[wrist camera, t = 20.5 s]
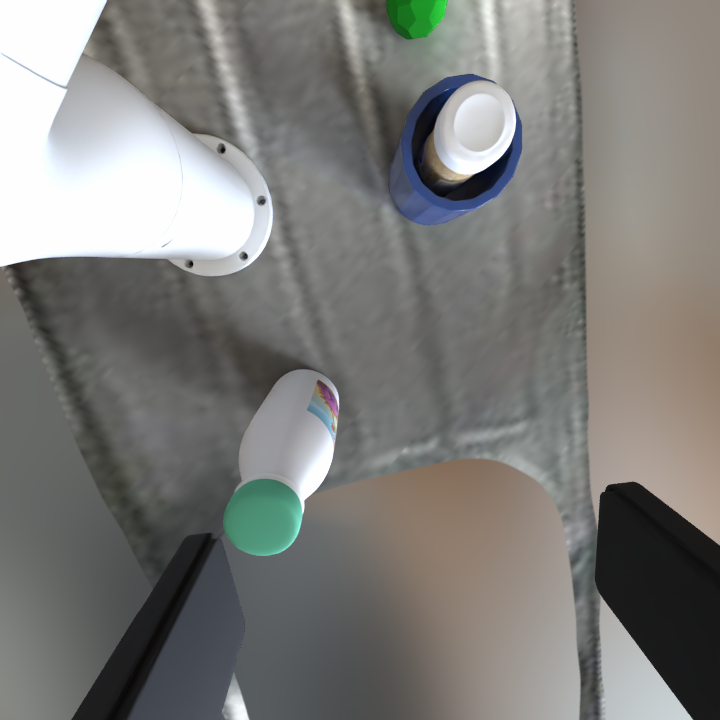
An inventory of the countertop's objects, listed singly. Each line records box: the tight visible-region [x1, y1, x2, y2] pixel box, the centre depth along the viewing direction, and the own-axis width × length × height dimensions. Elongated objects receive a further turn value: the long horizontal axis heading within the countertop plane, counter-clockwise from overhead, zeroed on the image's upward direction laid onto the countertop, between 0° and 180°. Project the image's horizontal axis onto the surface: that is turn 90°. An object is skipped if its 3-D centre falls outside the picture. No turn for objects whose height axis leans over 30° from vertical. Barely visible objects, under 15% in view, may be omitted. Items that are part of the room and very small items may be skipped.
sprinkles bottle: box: [413, 80, 516, 198], centre depth 27 cm, size 5×5×14 cm
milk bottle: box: [223, 369, 339, 556], centre depth 30 cm, size 8×8×20 cm
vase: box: [388, 74, 522, 225], centre depth 29 cm, size 8×8×10 cm
